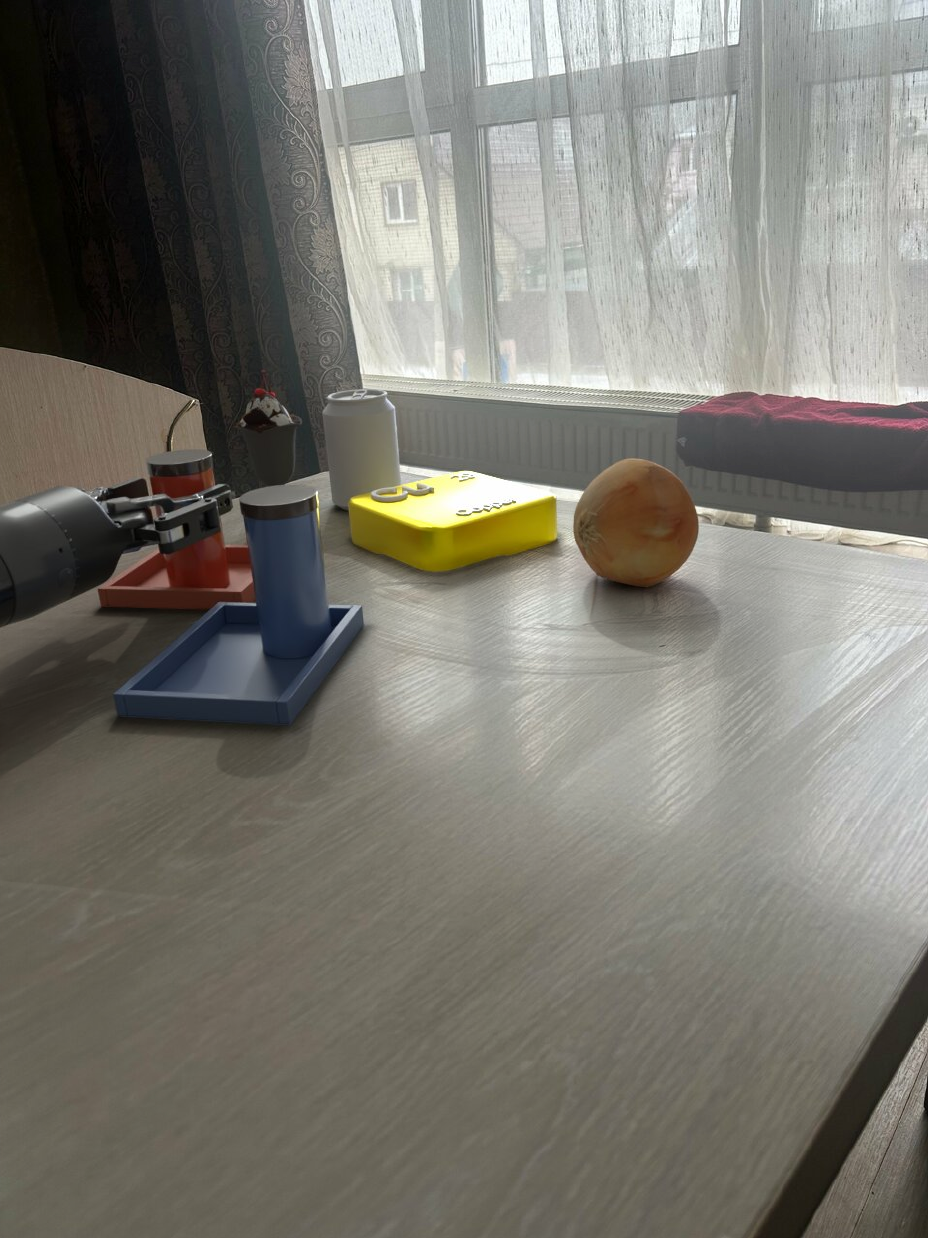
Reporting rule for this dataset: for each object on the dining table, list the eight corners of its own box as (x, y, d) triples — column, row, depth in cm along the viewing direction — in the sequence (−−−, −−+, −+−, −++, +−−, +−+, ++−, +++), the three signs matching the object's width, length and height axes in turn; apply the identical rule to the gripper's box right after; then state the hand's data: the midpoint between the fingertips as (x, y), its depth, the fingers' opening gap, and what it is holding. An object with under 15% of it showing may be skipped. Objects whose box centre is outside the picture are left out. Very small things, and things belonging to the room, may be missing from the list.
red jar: (157, 595, 80) (132, 464, 76) (186, 573, 84) (164, 449, 80) (215, 597, 79) (193, 464, 74) (241, 575, 83) (222, 448, 79)
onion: (547, 585, 79) (545, 464, 75) (626, 554, 85) (627, 441, 81) (642, 615, 72) (644, 484, 68) (720, 579, 78) (727, 457, 74)
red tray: (102, 612, 78) (97, 588, 78) (168, 565, 89) (164, 543, 88) (244, 616, 76) (240, 591, 75) (295, 567, 86) (293, 545, 85)
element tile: (433, 581, 81) (429, 526, 79) (343, 542, 92) (338, 493, 91) (566, 540, 89) (566, 489, 87) (469, 509, 100) (466, 463, 99)
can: (322, 514, 101) (309, 399, 97) (347, 495, 108) (335, 386, 104) (390, 516, 100) (380, 398, 95) (411, 496, 106) (402, 385, 102)
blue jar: (249, 658, 67) (226, 505, 63) (277, 628, 72) (257, 484, 68) (320, 661, 66) (301, 505, 62) (344, 631, 71) (327, 484, 66)
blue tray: (118, 724, 60) (112, 694, 60) (222, 627, 74) (218, 601, 73) (291, 733, 58) (286, 702, 57) (365, 631, 72) (362, 605, 71)
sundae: (291, 505, 105) (273, 365, 100) (324, 517, 101) (307, 370, 95) (237, 519, 102) (215, 374, 96) (269, 532, 97) (247, 379, 91)
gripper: (99, 509, 61) (250, 451, 75) (-59, 495, 67) (109, 443, 80) (121, 619, 64) (263, 543, 78) (-31, 596, 70) (126, 529, 83)
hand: (185, 492), depth 79 cm, fingers open, 8 cm apart
